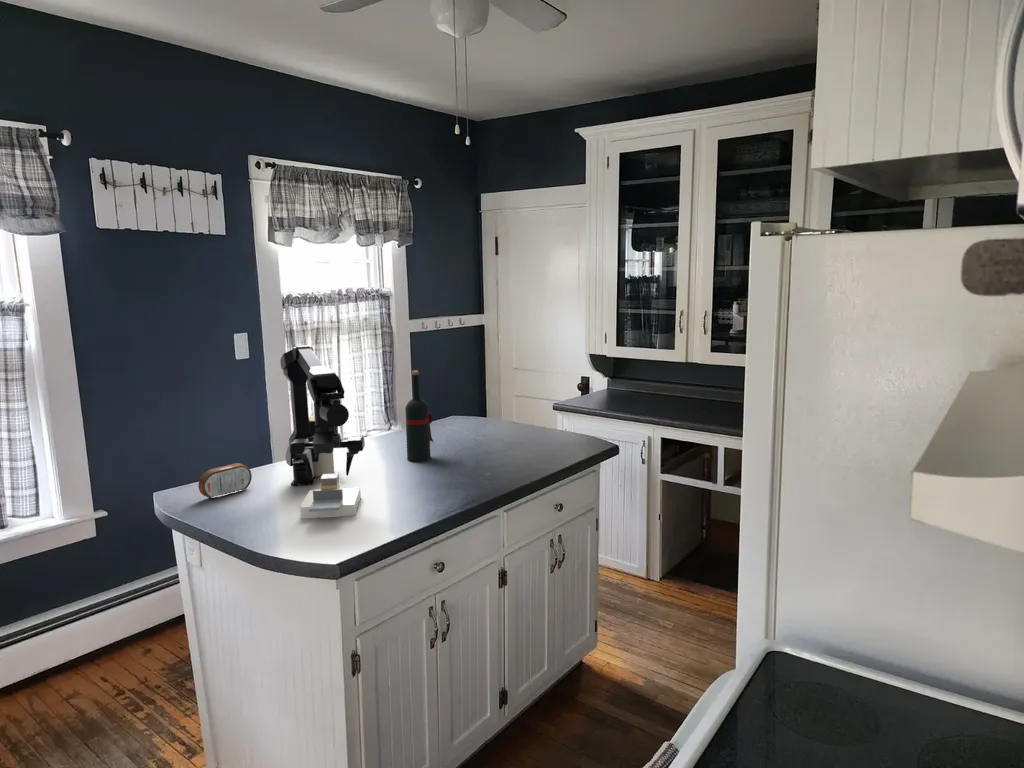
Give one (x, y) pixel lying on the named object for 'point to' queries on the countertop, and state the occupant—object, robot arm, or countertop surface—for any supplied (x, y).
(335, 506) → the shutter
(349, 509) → the socket block
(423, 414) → the wine bottle
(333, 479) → the plug
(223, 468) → the tin
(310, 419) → the travel mug
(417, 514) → the countertop surface
